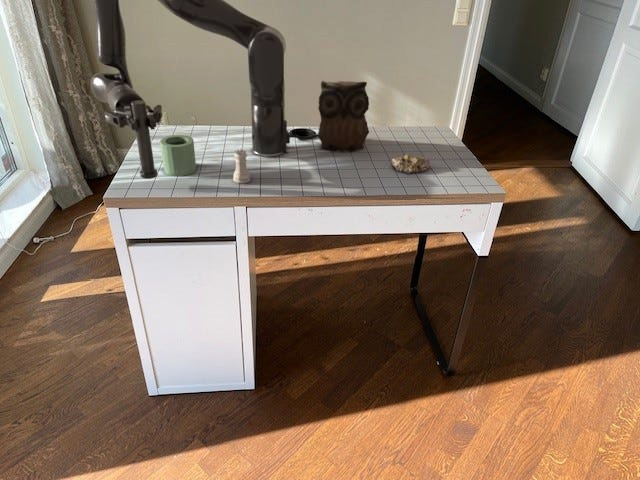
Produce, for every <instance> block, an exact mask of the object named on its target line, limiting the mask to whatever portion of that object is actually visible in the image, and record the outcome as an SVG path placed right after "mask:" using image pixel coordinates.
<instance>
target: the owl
mask: <svg viewBox="0 0 640 480" xmlns="http://www.w3.org/2000/svg"><path fill="white" fill-rule="evenodd" d="M367 84H368V82H367V81H349V80H348V81H344V80H339V81H324V80H322V81H320V89H321V92H320V94H319V96H318V112H319V115H320V123H319V125H318V126H319V127H318V132H317V134H318V137H317V138H318V139H319V141H320V143H321V146H320V149H322V150H325V151H329V152H341V153H343V152H350V153H351V152H356V151H358V150H361V149H364V145H365V143H366V140H367V137H368V135H369V134H370V130H369V126H368V122H367V119H366V114H367V111H368V110H369V106H370V100H369V98H370V97H369V96H368V93H367V91H366V87H367Z"/></svg>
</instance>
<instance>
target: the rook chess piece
mask: <svg viewBox="0 0 640 480" xmlns="http://www.w3.org/2000/svg"><path fill="white" fill-rule="evenodd" d="M234 157H235V164H236V165H235V170H234V173H233V175H232V177H233V178H232V180H233V181H234V183H235V184H240V185H244V184H247V183H249V182H250V181H251V173H250V172H249V170H248V167H247V159H246V158H247V157H248V153H247V151H246V150H245V149H236V150H235V153H234Z"/></svg>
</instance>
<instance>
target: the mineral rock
mask: <svg viewBox="0 0 640 480" xmlns="http://www.w3.org/2000/svg"><path fill="white" fill-rule="evenodd" d="M391 161H392V166H393V167H394V168H395V170H396V171H398V172H401V173H406V174H411V173H418V172H425V171H426V170H427V169H429V167H430V163H431V162H430V161H429V159H428V158H425V157H419V156H411V154H408V153H407V154H404V157H402V156H399V157H396V158H392V159H391Z"/></svg>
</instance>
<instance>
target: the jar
mask: <svg viewBox="0 0 640 480" xmlns="http://www.w3.org/2000/svg"><path fill="white" fill-rule="evenodd" d="M159 143H160V151H161V158H162V159H161V160H162V165H163V172H164V173H165V174H167V175H168V176H174V177H183V176H187V175H190V174H192V173H195V172H196V170H197V161H196V160H197V159H196V152H195V150H196V149H195V142H194V138H193V137H192V136H189V135H184V134H173V135H168V136H164V137H162V138H161V139H160V141H159Z"/></svg>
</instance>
